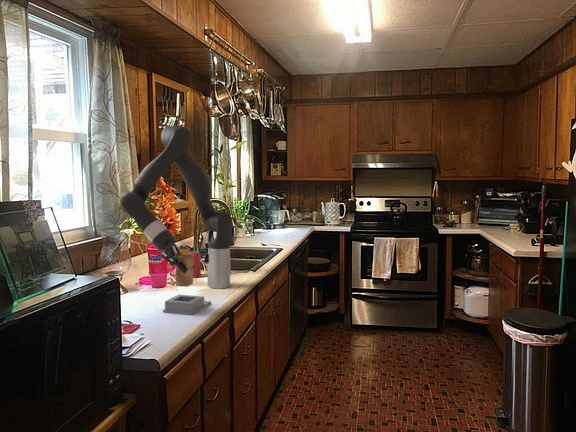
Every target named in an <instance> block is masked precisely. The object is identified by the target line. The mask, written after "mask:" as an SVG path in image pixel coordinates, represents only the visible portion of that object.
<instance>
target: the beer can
mask: <svg viewBox="0 0 576 432" xmlns="http://www.w3.org/2000/svg"><path fill="white" fill-rule="evenodd" d="M189 254H193V265H194V268H193V277H194V278H193V279H196V278H200V277H201V276H202V269H201V268H202V265H201V261H202V259H201V258H202V257H201V252H200V251H199V250H191V251H190V250H189Z"/></svg>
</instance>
